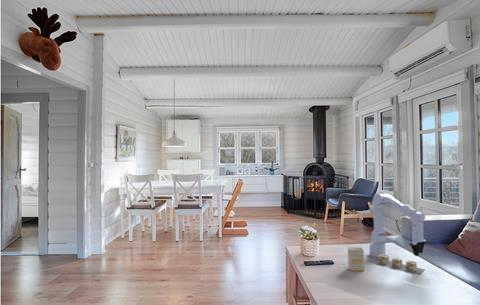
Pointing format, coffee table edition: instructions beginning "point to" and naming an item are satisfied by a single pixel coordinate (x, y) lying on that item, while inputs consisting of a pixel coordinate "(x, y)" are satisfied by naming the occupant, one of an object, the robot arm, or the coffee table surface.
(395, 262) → the plain block
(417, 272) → the slate mat
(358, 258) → the supplement box
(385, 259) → the two pip block
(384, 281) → the coffee table surface
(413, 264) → the three pip block
